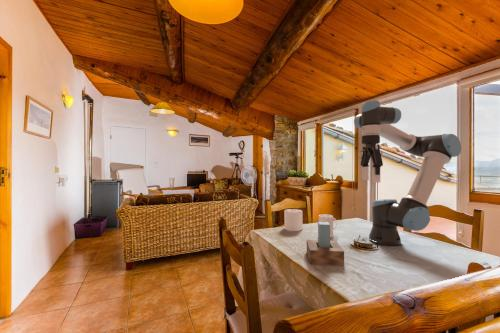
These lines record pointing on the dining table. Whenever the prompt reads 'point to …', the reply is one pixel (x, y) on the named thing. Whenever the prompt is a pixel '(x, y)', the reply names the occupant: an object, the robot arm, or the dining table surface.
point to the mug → (330, 220)
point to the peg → (323, 235)
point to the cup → (293, 220)
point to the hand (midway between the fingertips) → (370, 181)
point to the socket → (325, 253)
